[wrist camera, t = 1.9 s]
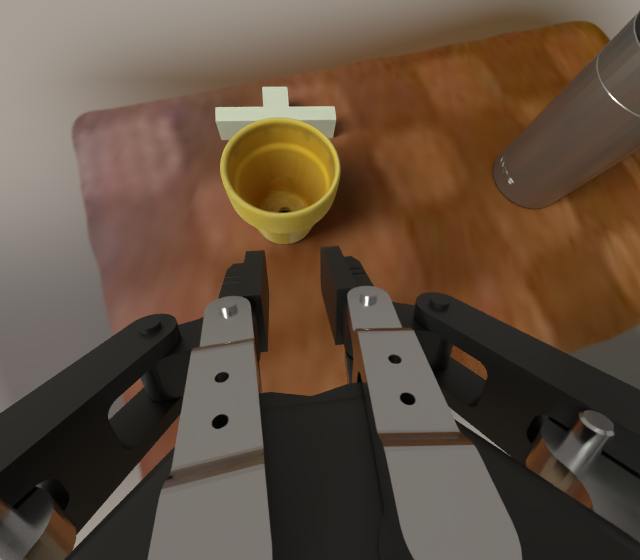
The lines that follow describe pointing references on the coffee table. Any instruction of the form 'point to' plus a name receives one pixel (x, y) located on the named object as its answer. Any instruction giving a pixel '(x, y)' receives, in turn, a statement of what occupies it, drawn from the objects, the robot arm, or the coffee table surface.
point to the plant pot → (280, 176)
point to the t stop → (274, 114)
